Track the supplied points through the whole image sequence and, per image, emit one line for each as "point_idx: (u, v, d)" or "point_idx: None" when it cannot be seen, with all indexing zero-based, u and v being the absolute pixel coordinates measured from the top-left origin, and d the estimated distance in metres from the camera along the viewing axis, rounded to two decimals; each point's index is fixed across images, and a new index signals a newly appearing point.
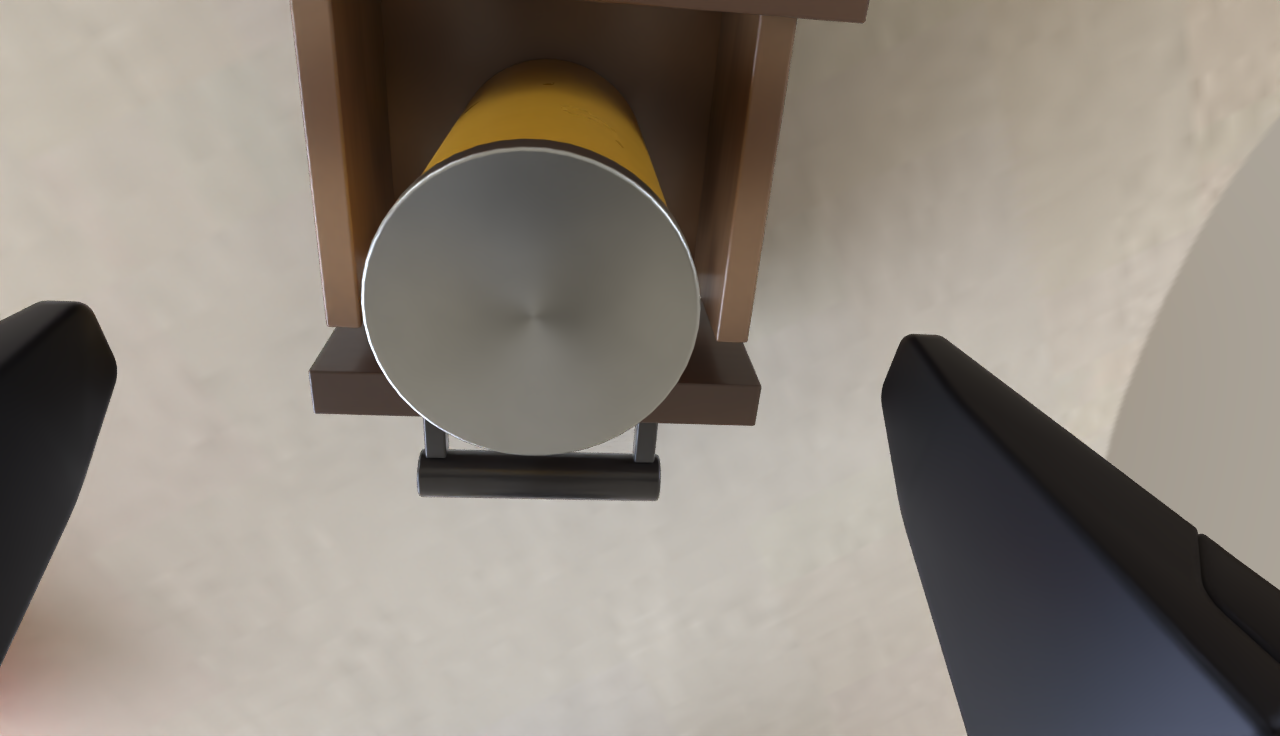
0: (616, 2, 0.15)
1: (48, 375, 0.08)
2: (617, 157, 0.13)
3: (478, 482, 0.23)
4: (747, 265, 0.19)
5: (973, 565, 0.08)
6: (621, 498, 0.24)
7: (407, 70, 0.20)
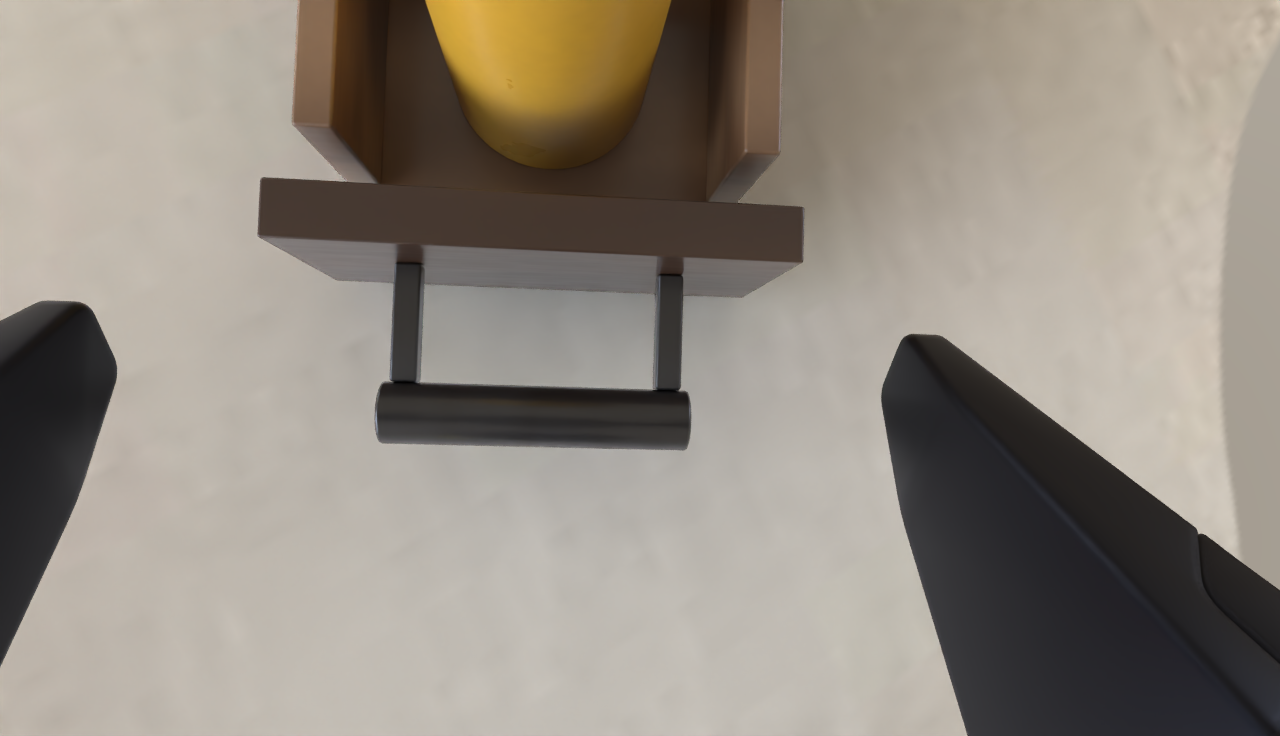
0: None
1: (48, 375, 0.08)
2: None
3: (454, 406, 0.18)
4: (769, 59, 0.17)
5: (973, 565, 0.08)
6: (642, 434, 0.18)
7: None
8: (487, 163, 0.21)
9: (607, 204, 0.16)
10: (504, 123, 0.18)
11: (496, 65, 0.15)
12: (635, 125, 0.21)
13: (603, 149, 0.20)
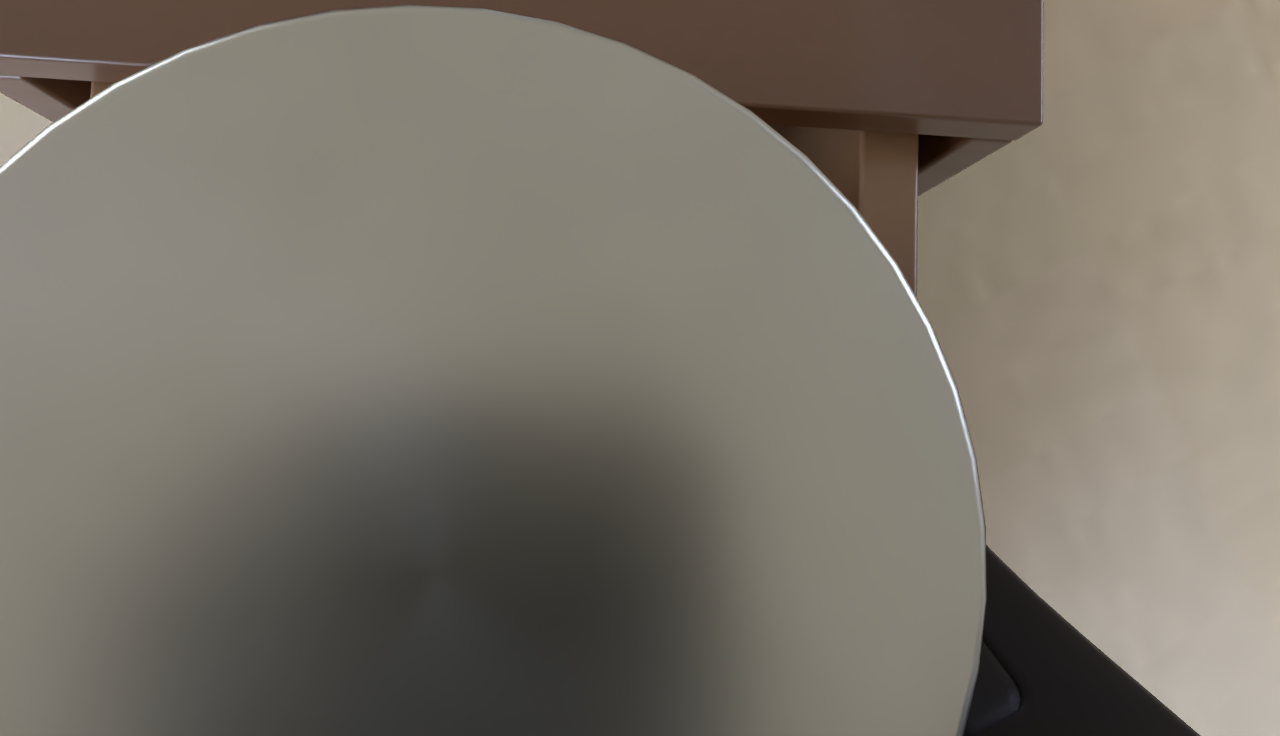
0: None
1: None
2: None
3: None
4: None
5: None
6: None
7: None
8: None
9: None
10: None
11: None
12: None
13: None
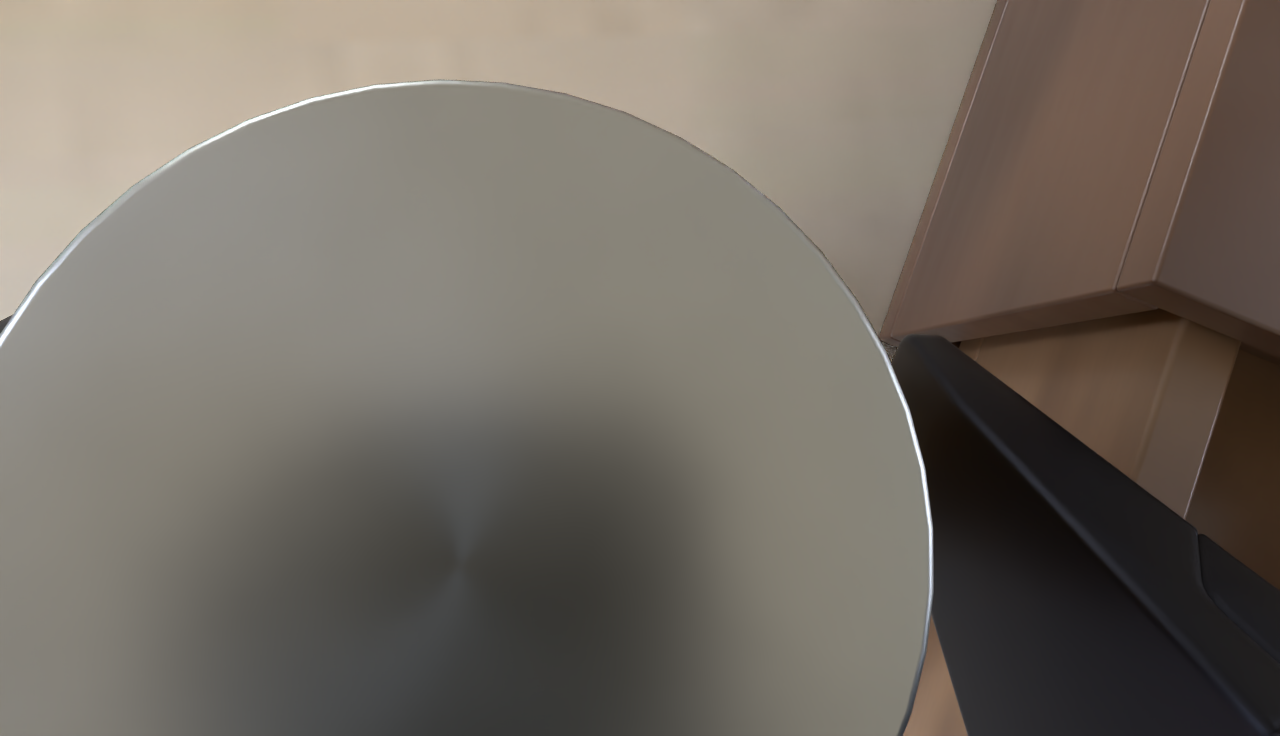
0: None
1: None
2: None
3: None
4: None
5: (973, 565, 0.08)
6: None
7: None
8: None
9: None
10: None
11: None
12: None
13: None
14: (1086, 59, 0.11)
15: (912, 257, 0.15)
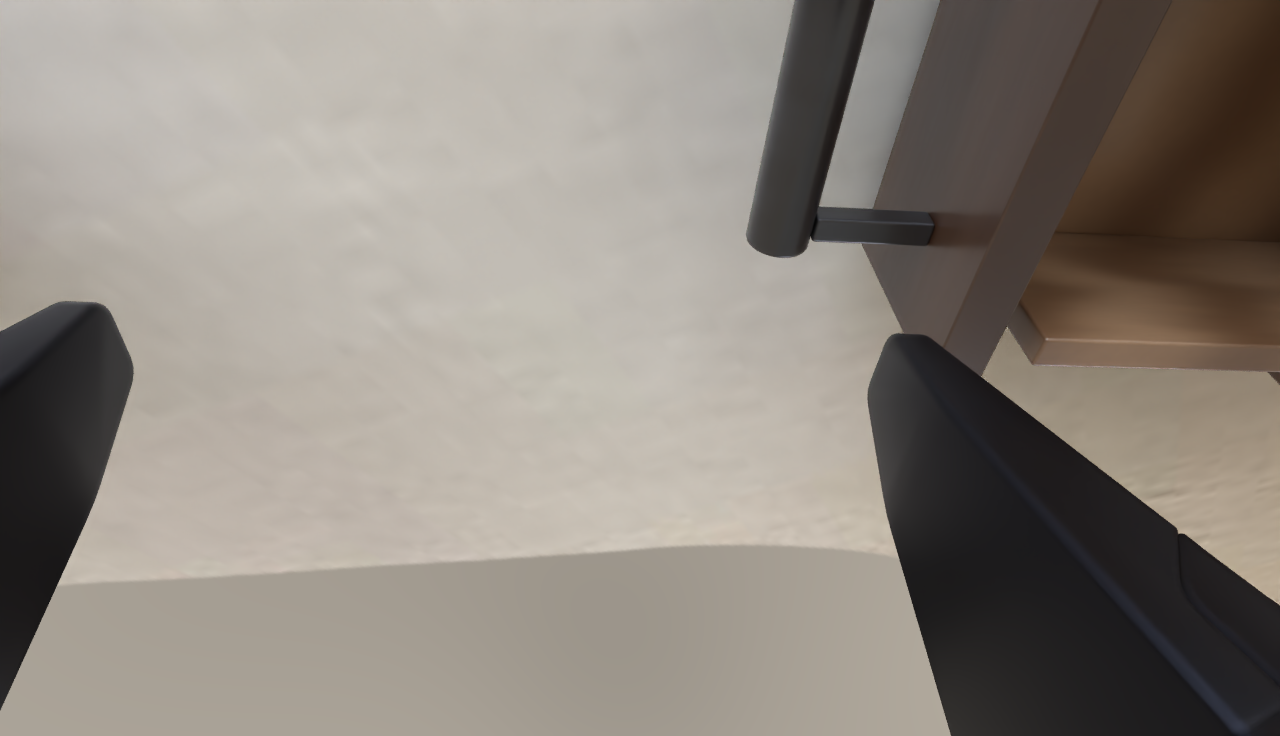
0: None
1: (68, 375, 0.08)
2: None
3: (855, 8, 0.14)
4: (1121, 359, 0.18)
5: (956, 565, 0.08)
6: (776, 212, 0.17)
7: None
8: None
9: (1049, 227, 0.15)
10: None
11: None
12: None
13: None
14: None
15: None
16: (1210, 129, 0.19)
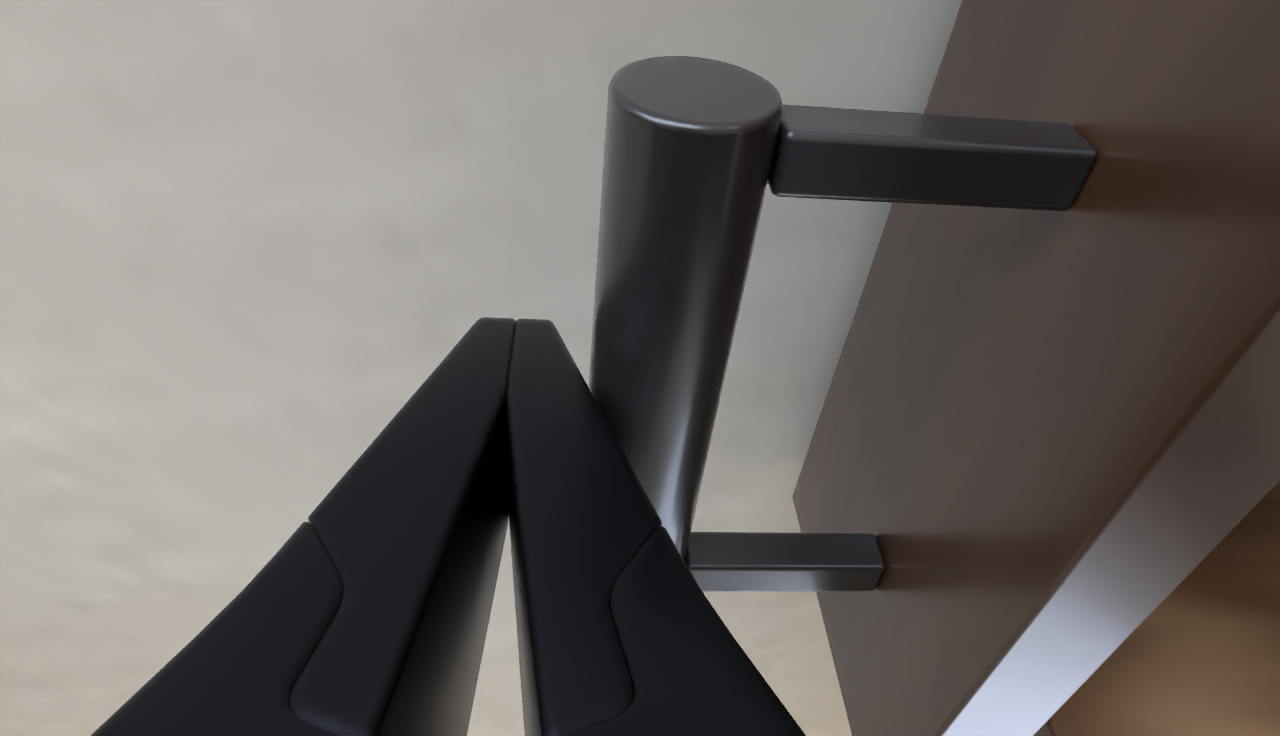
0: None
1: None
2: None
3: (699, 310, 0.07)
4: None
5: (516, 561, 0.07)
6: None
7: None
8: None
9: (1081, 672, 0.08)
10: None
11: None
12: None
13: None
14: None
15: None
16: None
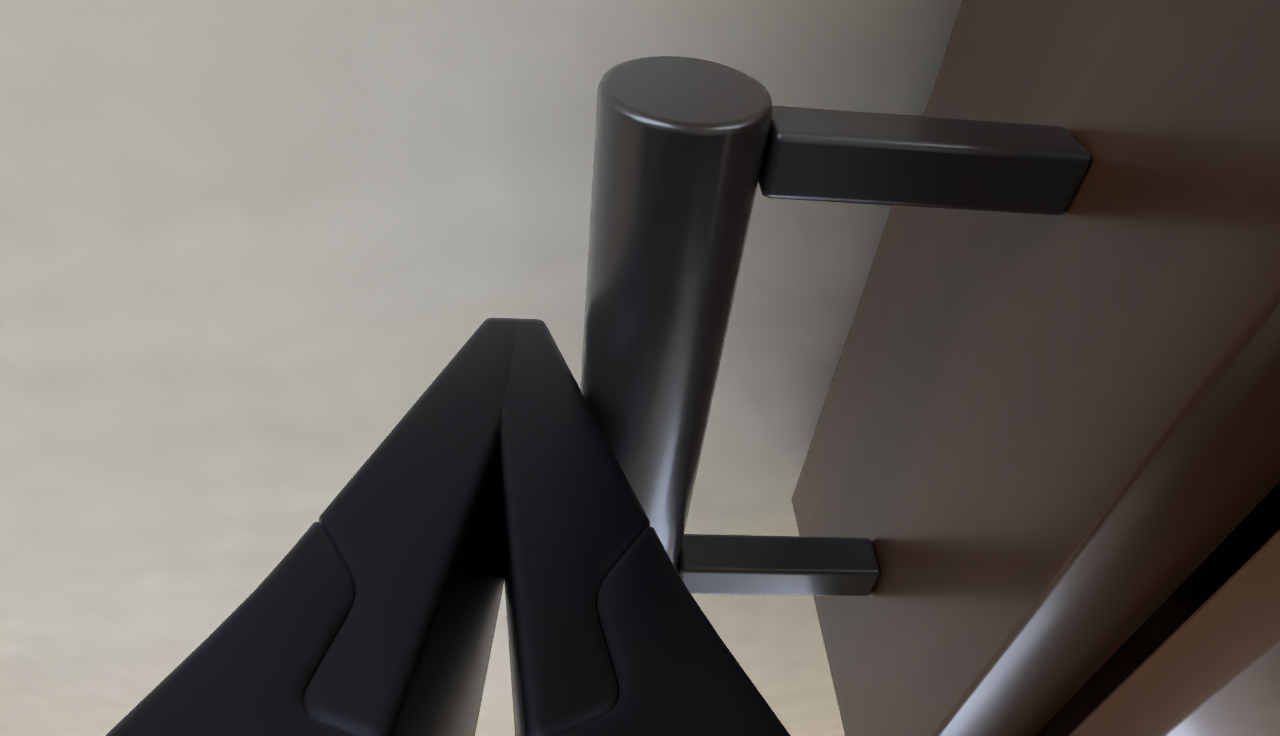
0: None
1: None
2: None
3: (689, 312, 0.07)
4: None
5: (506, 561, 0.07)
6: None
7: None
8: None
9: (1074, 681, 0.08)
10: None
11: None
12: None
13: None
14: None
15: None
16: None
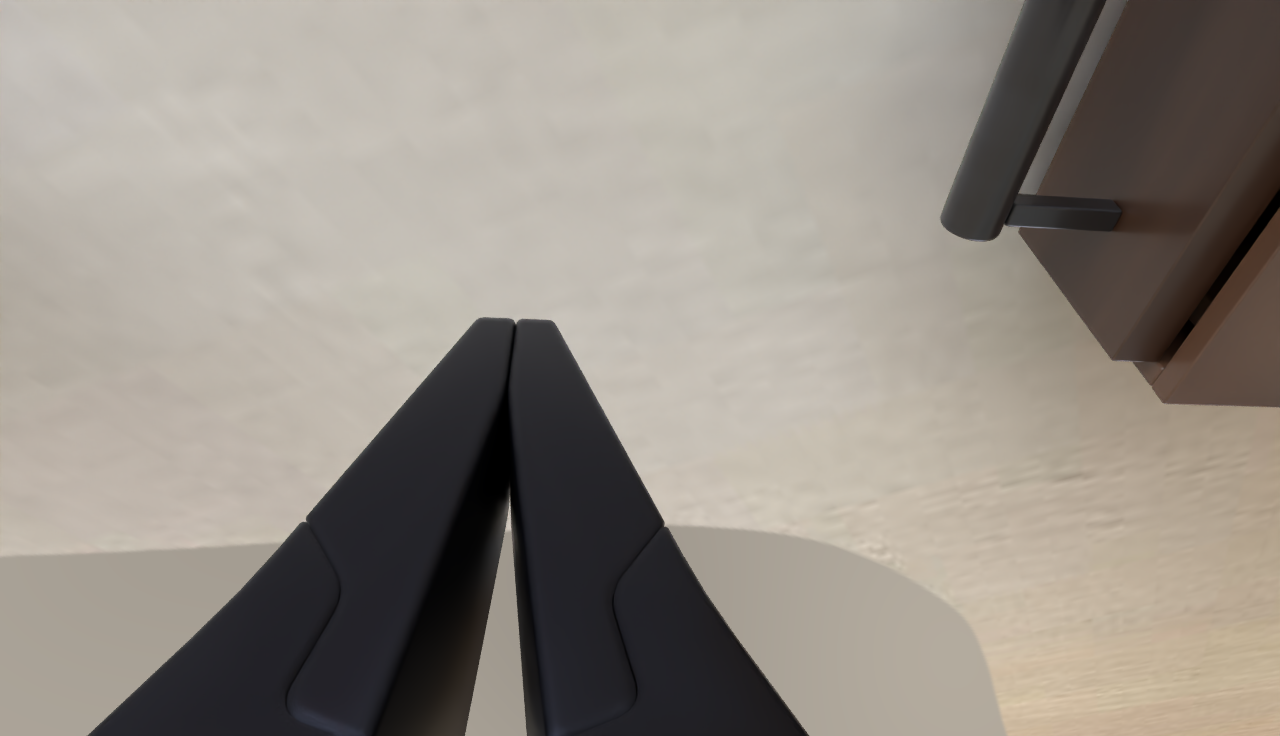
0: None
1: None
2: None
3: (1093, 6, 0.15)
4: None
5: (518, 561, 0.07)
6: (982, 197, 0.18)
7: None
8: None
9: (1256, 211, 0.16)
10: None
11: None
12: None
13: None
14: None
15: None
16: None
